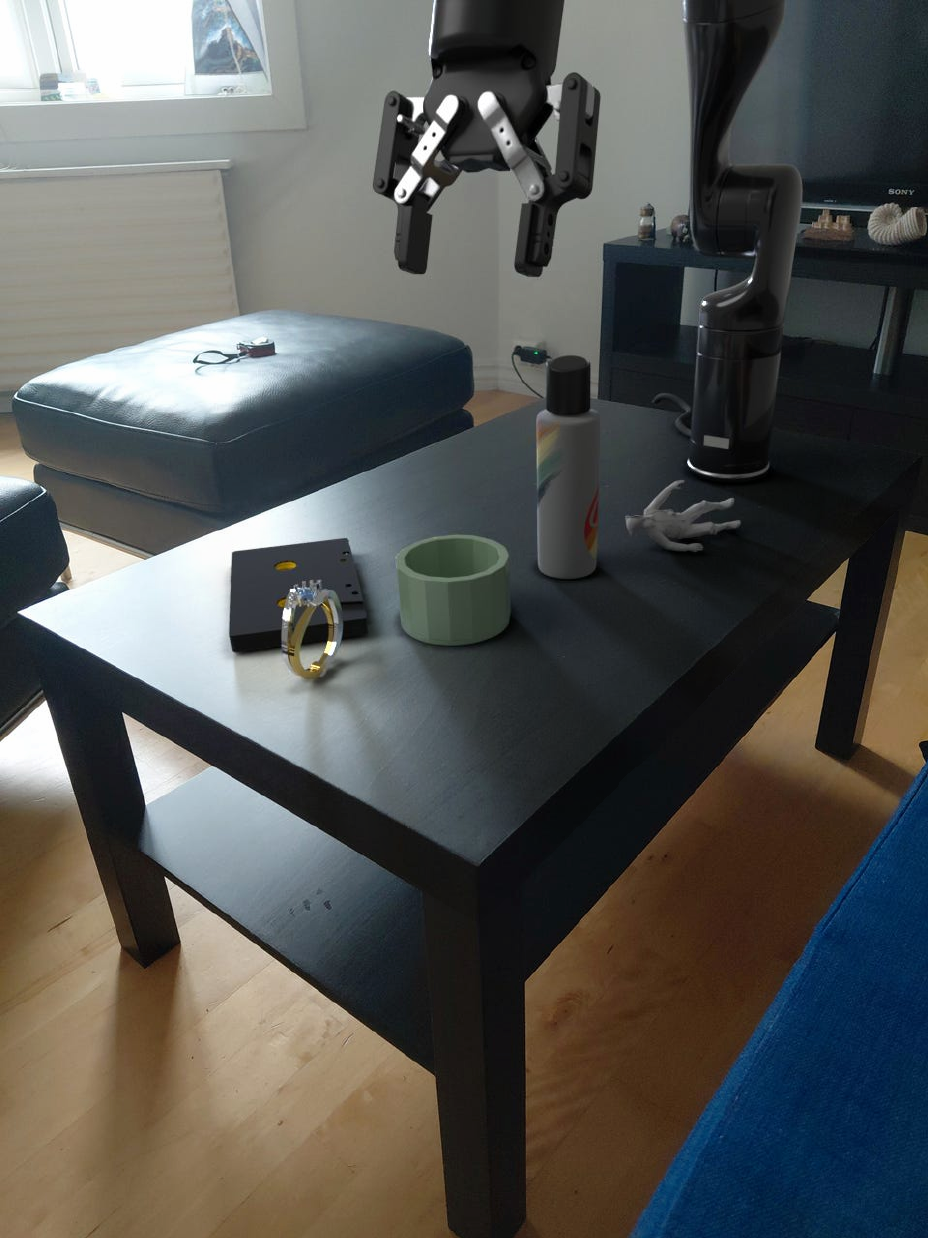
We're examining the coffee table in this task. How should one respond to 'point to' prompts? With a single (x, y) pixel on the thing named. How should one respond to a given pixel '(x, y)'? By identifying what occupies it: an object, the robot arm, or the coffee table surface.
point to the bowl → (454, 589)
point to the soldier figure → (678, 521)
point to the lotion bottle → (568, 472)
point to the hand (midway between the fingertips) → (467, 273)
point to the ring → (293, 642)
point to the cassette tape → (273, 575)
